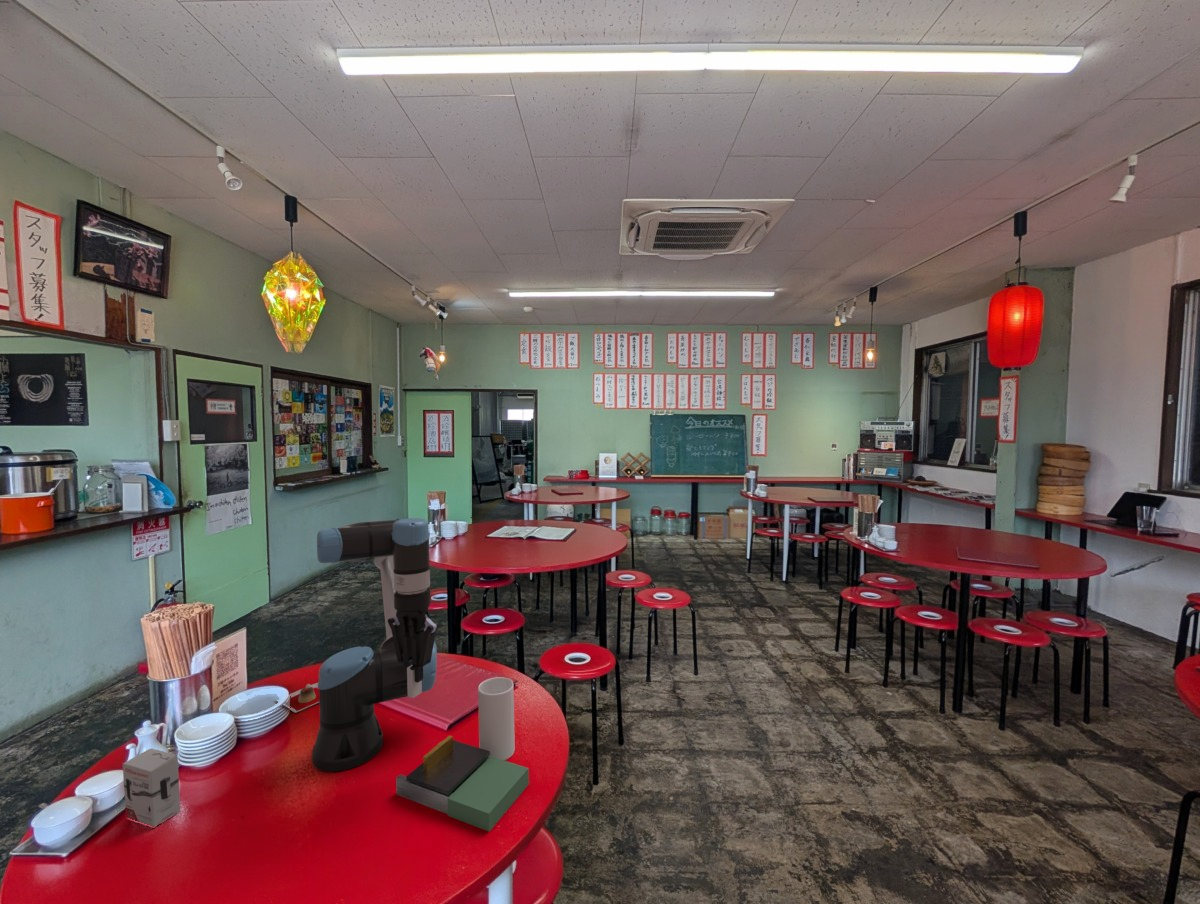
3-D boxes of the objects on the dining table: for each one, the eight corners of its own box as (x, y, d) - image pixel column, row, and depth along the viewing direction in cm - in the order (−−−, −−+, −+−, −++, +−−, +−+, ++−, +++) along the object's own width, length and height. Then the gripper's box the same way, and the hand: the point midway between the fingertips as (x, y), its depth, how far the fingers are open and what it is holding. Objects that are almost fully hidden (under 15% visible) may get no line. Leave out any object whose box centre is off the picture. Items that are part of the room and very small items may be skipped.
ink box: (123, 820, 98) (121, 762, 97) (153, 802, 103) (150, 747, 102) (153, 830, 95) (150, 770, 95) (181, 811, 100) (179, 754, 100)
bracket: (396, 794, 104) (396, 777, 104) (441, 756, 116) (440, 741, 116) (448, 814, 98) (448, 796, 98) (490, 772, 111) (489, 756, 110)
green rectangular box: (447, 815, 98) (447, 798, 98) (490, 771, 111) (490, 756, 111) (489, 831, 94) (488, 813, 94) (529, 784, 107) (528, 768, 107)
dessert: (295, 716, 135) (294, 699, 135) (274, 704, 141) (274, 687, 141) (338, 697, 145) (338, 680, 145) (317, 686, 151) (317, 670, 151)
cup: (518, 741, 122) (517, 677, 121) (509, 763, 113) (507, 695, 113) (486, 740, 122) (484, 676, 122) (474, 761, 114) (473, 693, 114)
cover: (406, 780, 103) (406, 762, 102) (451, 742, 115) (450, 726, 115) (448, 795, 98) (447, 776, 98) (490, 754, 110) (489, 738, 110)
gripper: (376, 591, 108) (379, 696, 109) (422, 598, 103) (425, 709, 104) (403, 581, 115) (405, 681, 116) (447, 588, 110) (449, 692, 111)
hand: (414, 694), depth 110 cm, fingers closed
